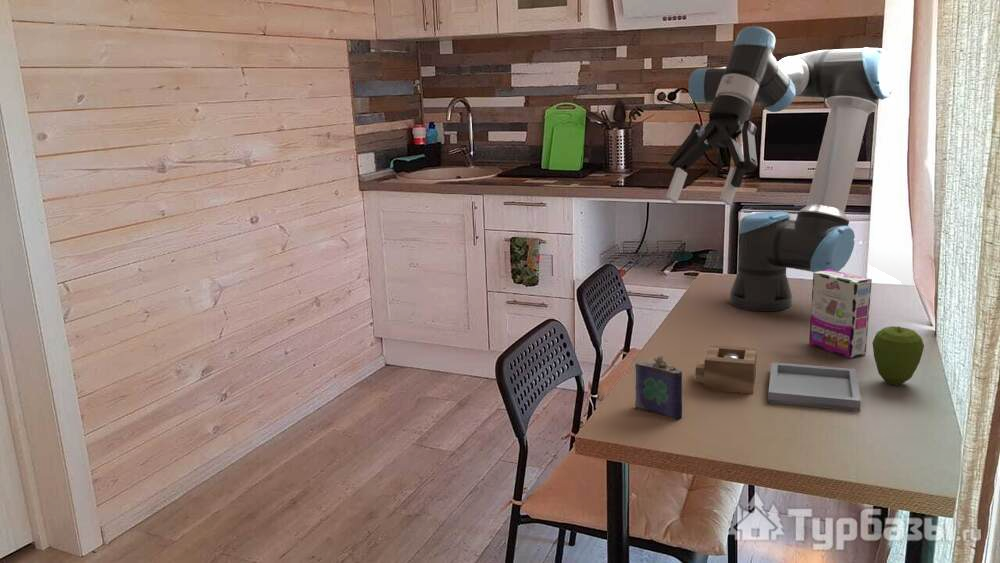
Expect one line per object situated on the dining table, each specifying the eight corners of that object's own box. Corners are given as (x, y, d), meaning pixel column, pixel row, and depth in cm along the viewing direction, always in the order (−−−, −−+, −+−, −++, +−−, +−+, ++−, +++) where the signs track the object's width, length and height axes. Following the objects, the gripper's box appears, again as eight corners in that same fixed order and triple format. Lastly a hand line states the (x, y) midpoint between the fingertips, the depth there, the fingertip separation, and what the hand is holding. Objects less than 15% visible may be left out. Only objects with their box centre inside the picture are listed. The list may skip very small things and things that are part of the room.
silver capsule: (723, 379, 157) (724, 352, 155) (738, 380, 156) (739, 354, 154) (722, 384, 154) (722, 357, 153) (737, 386, 153) (738, 359, 152)
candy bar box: (867, 354, 166) (873, 278, 162) (850, 359, 164) (856, 282, 159) (823, 339, 176) (828, 267, 171) (807, 344, 173) (812, 271, 169)
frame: (698, 371, 161) (699, 343, 160) (755, 376, 157) (756, 347, 156) (693, 388, 153) (693, 358, 151) (752, 393, 149) (754, 363, 148)
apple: (877, 392, 148) (882, 333, 145) (863, 374, 156) (868, 318, 153) (927, 392, 146) (933, 333, 143) (910, 375, 154) (916, 318, 151)
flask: (632, 408, 145) (633, 353, 143) (641, 403, 147) (641, 349, 145) (677, 422, 139) (678, 364, 136) (686, 416, 141) (687, 359, 139)
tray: (771, 371, 159) (771, 362, 159) (855, 378, 154) (855, 369, 153) (768, 402, 145) (768, 392, 145) (860, 411, 140) (860, 400, 140)
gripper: (674, 98, 164) (639, 191, 162) (776, 87, 144) (738, 194, 141) (696, 115, 169) (662, 206, 166) (798, 107, 148) (761, 211, 146)
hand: (697, 201), depth 154 cm, fingers open, 13 cm apart
